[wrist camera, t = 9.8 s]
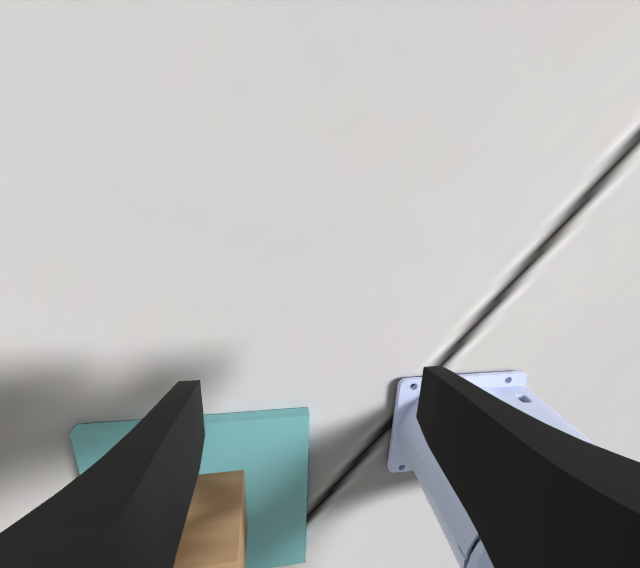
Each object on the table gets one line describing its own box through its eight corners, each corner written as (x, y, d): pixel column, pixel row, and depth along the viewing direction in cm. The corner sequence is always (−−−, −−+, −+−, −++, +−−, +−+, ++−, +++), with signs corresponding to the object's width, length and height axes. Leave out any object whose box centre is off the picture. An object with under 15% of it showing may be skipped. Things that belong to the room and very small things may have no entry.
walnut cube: (244, 469, 22) (237, 561, 17) (247, 528, 24) (242, 627, 19) (155, 479, 21) (120, 578, 16) (166, 539, 23) (137, 645, 18)
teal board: (307, 407, 22) (309, 415, 21) (304, 551, 27) (305, 562, 26) (76, 424, 20) (69, 434, 19) (114, 578, 25) (110, 591, 24)
